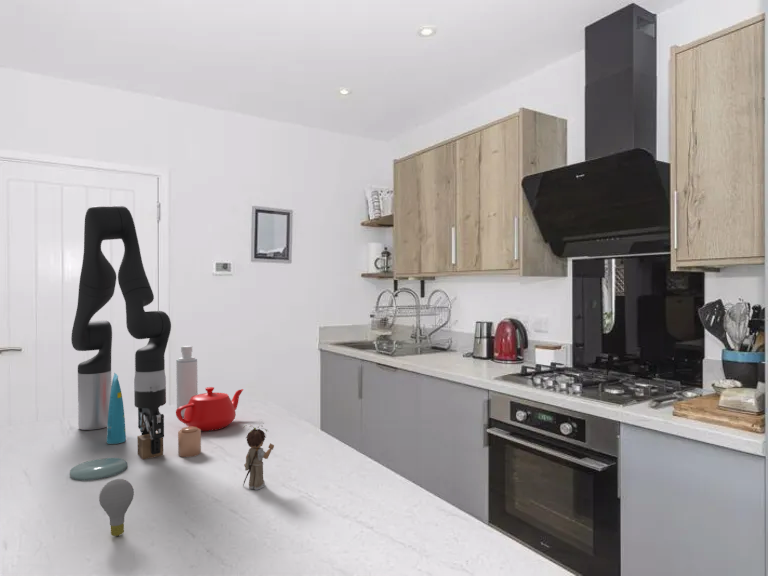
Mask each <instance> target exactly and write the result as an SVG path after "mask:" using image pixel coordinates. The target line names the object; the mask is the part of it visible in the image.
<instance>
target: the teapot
mask: <svg viewBox="0 0 768 576" xmlns="http://www.w3.org/2000/svg"><path fill="white" fill-rule="evenodd" d="M214 390H215V387H213V386H209V387H205V391H206V392H205V393H200V394H198V395H195V396H193V397H191V398H190V400H189V402H188V404H187V405H184V406H181V407H179V408H178V409H177V408H176V410H175V416H176V418H177V419H178V421H180V422H181V423H183V424H185V425H186V427H197V428H199V429H201V432H210V431H211V430H212V431H217V430H221V429H224V428H226V427H227V426H229V425H230V424H232V422H234V420H235V419H236V416H237V415H236V410H237V408H238V406H239V400H240V395H241V394H242V392H243V391H244V389H243V388H242V389H238V390H236V391H235V393H234V394H233V397H232V399H231V398H230V396H229V394H228V393H225V392H224V393H223V392H213V391H214ZM185 408H186V409H185ZM183 409H185V413H184V417H182V416H181V411H182V410H183ZM209 430H210V431H209ZM212 431H211V432H212Z"/></svg>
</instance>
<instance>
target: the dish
mask: <svg viewBox="0 0 768 576" xmlns="http://www.w3.org/2000/svg"><path fill="white" fill-rule="evenodd" d="M126 469H128V461H127V460H126V459H125V458H119V457H107V458H106V457H105V458H97V459H92V460H89V461H84V462H81V463H78V464H76V465H75V466H72V467H71V469H70V470H69V477H70V478H71V479H73V480H76V481H93V480H95V481H96V480H100V479H106V478H109V477H112V476H116V475H118V474H120V473H122V472H124V471H126Z"/></svg>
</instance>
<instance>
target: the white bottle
mask: <svg viewBox="0 0 768 576" xmlns="http://www.w3.org/2000/svg"><path fill="white" fill-rule="evenodd" d="M180 352H181V357H178V359H177V360H176V362H175V366H176V369H175V370H176V373H175V374H176V375H175V376H176V410H177V409H178V408H179V407H181V406H184V405H187V404H188V402H189V400H190V398H191V397H193V396H195V395H199V394H198V391H199V390H198V359H197V358H196V356H192V353H193V346H192V345H181V347H180ZM185 409H186V408H185ZM185 409H183V410H182V411H181V416H182V418H184V413H185Z"/></svg>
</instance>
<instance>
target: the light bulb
mask: <svg viewBox="0 0 768 576" xmlns="http://www.w3.org/2000/svg"><path fill="white" fill-rule="evenodd" d="M134 490H135V489H134V487H133V485H132V483H131V482H130V481H128V480H127V479H124V478H116V479H112V480H109V482H107V483H105V485H104V486H103V487H102V489H101V490H100V492H99V495H98V496H99V497H98V499H99V505H100V507H101V508H102V509H103V511H104V512H105V513H106V514H107V516H108V519H109V526H110V535H111V536H113V537H116V538H117V537H120V536H121V535H123V534H124V533H125V515H126V513H127V511H128V509H129V508H130V506H131V504H132V502H133V499H134V496H135V491H134Z"/></svg>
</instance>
